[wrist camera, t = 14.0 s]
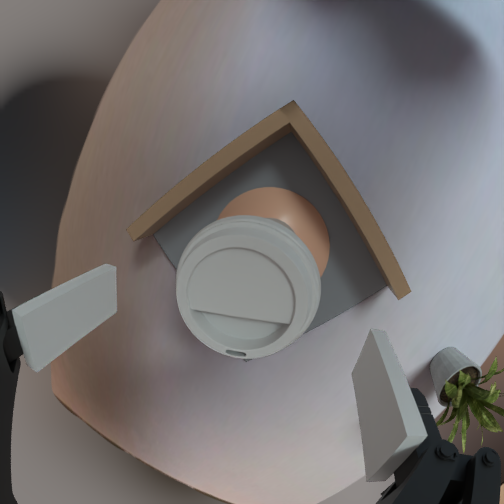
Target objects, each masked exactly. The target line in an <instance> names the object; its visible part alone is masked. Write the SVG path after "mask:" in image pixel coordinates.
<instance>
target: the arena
mask: <svg viewBox="0 0 504 504" xmlns="http://www.w3.org/2000/svg"><path fill="white" fill-rule="evenodd" d="M237 215H252V216H259V217H263V218H275V219H279V220H281V221H283V222H285V223H286V224H288V225H289V226H290V227H291V228H292V229H293V231H294V232H295V234H296V235H297V236H298V237H299V238H300V239H301V240H302V241H303V242H304V244H305V245H306V246H307V247H308V249H309V250H310V252H311V254H312V255H313V257H314V259H315V261H316V264H317V267H318V270H319V274H320V280H321V297H320V303H319V306H318V309H317V312H316V314H315V317H314V318H313V320H312V322H311V324H310V325H309V327H308V328H307V329H306V331H305V332H304V333H306V332H308V331H310V330H312V329H314V328H316V327H318V326H319V325H321V324H323V323H325V322H327V321H328V320H330V319H332V318H334V317H336V316H337V315H339V314H341V313H343V312H344V311H346V310H348V309H349V308H351V307H353V306H355V305H356V304H358V303H360V302H361V301H363V300H365V299H366V298H368V297H369V296H371V295H373V294H374V293H376V292H377V291H379V290H381V289H382V288H384V287H385V286H388V287H389V288H390V290H391V291H392V292H393V294H394V295H395V296H396V297H397V299H398V300H399V299H401V298H402V297H404V296H406V295H407V294H409V293H410V292H411V290H410V288H409V285H408V283H407V281H406V279H405V277H404V275H403V273H402V271H401V268H400V266H399V264H398V262H397V260H396V258H395V256H394V254H393V252H392V250H391V249H390V247H389V245H388V243H387V241H386V239H385V237H384V235H383V233H382V232H381V230H380V228H379V226H378V224H377V223H376V221H375V219H374V217H373V216H372V214H371V212H370V210H369V209H368V207H367V205H366V204H365V202H364V200H363V199H362V197H361V195H360V194H359V192H358V190H357V189H356V187H355V186H354V184H353V182H352V181H351V179H350V178H349V176H348V175H347V173H346V171H345V170H344V168H343V167H342V165H341V164H340V162H339V161H338V159H337V158H336V156H335V155H334V154H333V152H332V151H331V149H330V148H329V146H328V145H327V144H326V142H325V141H324V139H323V138H322V137H321V135H320V134H319V132H318V131H317V130H316V128H315V127H314V126H313V124H312V123H311V122H310V120H309V119H308V118H307V116H306V115H305V114H304V113H303V111H302V110H301V109H300V107H299V106H298V105H297V104H296V102H295V101H294V100H293V101H291V102H290V103H288V104H286V105H285V106H283V107H282V108H280V109H279V110H277V111H276V112H274V113H273V114H271V115H269V116H268V117H266V118H265V119H263V120H262V121H261V122H259V123H258V124H256V125H255V126H253V127H252V128H250V129H249V130H247V131H246V132H245V133H243V134H242V135H240V136H239V137H238V138H236V139H235V140H233V141H232V142H231V143H229V144H228V145H227V146H225V147H224V148H223V149H221V150H220V151H219V152H217V153H216V154H215V155H213V156H212V157H211V158H209V159H208V160H207V161H205V162H204V163H203V164H202V165H200V166H199V167H198V168H197V169H195V170H194V171H193V172H191V173H190V174H189V175H188V176H187V177H185V178H184V179H183V180H182V181H180V182H179V183H178V184H177V185H176V186H174V187H173V188H172V189H171V190H170V191H168V192H167V193H166V194H165V195H164V196H163V197H161V198H160V199H159V200H158V201H157V202H156V203H155V204H153V205H152V206H151V207H150V208H149V209H148V210H147V211H146V212H144V213H143V214H142V215H141V216H140V217H139V218H138V219H137V220H136V221H135V222H134V223H132V224H131V225H130V226H129V227H128V228H127V229H126V230H127V232H128V233H129V235H130V236H131V238H132V240H133V241H136V240H139V239H142V238H144V237H147V236H150V235H154V237H155V238H156V240H157V241H158V243H159V244H160V246H161V247H162V249H163V250H164V252H165V253H166V255H167V256H168V258H169V259H170V261H171V262H172V264H173V265H174V267H175V268H176V269H177V268H178V264H179V261H180V258H181V256H182V254H183V252H184V250H185V248H186V246H187V245H188V243H189V242H190V241H191V239H192V238H193V237H194V236H195V235H196V234H197V233H198V232H199V231H200V230H202V229H203V228H204V227H206V226H207V225H209V224H211V223H213V222H215V221H217V220H220V219H222V218H226V217H230V216H237ZM304 333H303V334H304ZM244 360H245V361H246V362H247V361H249V360H252V359H244Z"/></svg>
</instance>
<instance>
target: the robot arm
mask: <svg viewBox="0 0 504 504" xmlns="http://www.w3.org/2000/svg"><path fill="white" fill-rule="evenodd" d="M116 312H117V293H116V267H115V266H112V265H109V264H103V265H101V266H99V267H97V268H95V269H93V270H90V271H88V272H86V273H84V274H82V275H80V276H78V277H76V278H74V279H72V280H69V281H67V282H65V283H63V284H61V285H59V286H57V287H55V288H53V289H51V290H49V291H47V292H45V293H43V294H40V295H38V296H36V297H34V298H32V299H30V300H29V301H26V302H25V303H23V304H21V305H19V306H17V307H15V308H13V309H11V310H9V311H6V307H5V302H4V298H3V294H2V292H1V291H0V504H18V503H17V501H16V500H15V498H14V495H13V493H12V484H11V430H12V417H13V408H14V400H15V392H16V387H17V381H18V374H19V369H20V358H19V357H20V356H21V355H23V354H24V358H25V361H26V364H27V365H28V366H29V367H30V368H32V369H33V370H34V371H35V372H39V371H40V370H41V369H42V368H44V367H45V366H46V365H47V364H49V363H50V362H51V361H53V360H54V359H55V358H56V357H58V356H59V355H60V354H62V353H63V352H64V351H66V350H67V349H68V348H69V347H71V346H72V345H73V344H75V343H76V342H77V341H79V340H80V339H81V338H83V337H84V336H85V335H87V334H88V333H89V332H91V331H92V330H93V329H95V328H96V327H97V326H99V325H100V324H101V323H103V322H104V321H105V320H107V319H108V318H109V317H111V316H112V315H114V314H115V313H116ZM352 378H353V384H354V390H355V396H356V402H357V408H358V415H359V422H360V429H361V436H362V444H363V453H364V462H365V472H366V481H367V482H376V481H386V480H387V479H388V478H389V477H390V476H391V475H392V474H393V473H394V476H395V482H394V483H392V484H391V485H390V486H389V487H388V488H387V489H386V490H385V491H383V492H382V493H381V495H382V497H381V498H380V499H379V501H378V502H377V503H376V504H499V501H500V485H501V461H500V457H499V455H498V454H497V452H496V451H495V450H493V449H491V448H489V447H483V448H480V449H479V450H478V451H477V453H476V454H475V455H474V456H470V455H464V454H459V452H458V449H457V448H456V447H455V445H454V444H452V443H451V442H450V441H446V440H442V438H441V436H440V433H439V430H438V428H437V425H436V423H435V421H434V418H433V415H431V410H430V408H429V407H428V403H427V401H426V399H425V396H424V395H423V394H422V393H421V392H420V391H419V390H418V389H417V388H410V387H409V384H408V382H407V380H406V377H405V375H404V372H403V370H402V368H401V365H400V363H399V361H398V358H397V356H396V354H395V352H394V349H393V347H392V345H391V343H390V341H389V339H388V336H387V334H386V332H385V331H382V330H376V329H370V332H369V334H368V337H367V339H366V342H365V344H364V347H363V349H362V351H361V354H360V356H359V358H358V361H357V363H356V365H355V367H354V370H353V372H352Z"/></svg>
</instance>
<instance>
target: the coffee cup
mask: <svg viewBox="0 0 504 504" xmlns="http://www.w3.org/2000/svg"><path fill="white" fill-rule="evenodd" d="M176 297H177V303H178V308H179V311H180V314H181V316H182V318H183V320H184V322H185V324H186V325H187V327H188V328H189V330H190V331H191V332H192V333H193V334H194V336H195V337H196V338H197V339H199V340H200V341H201V342H202V343H203V344H205V345H206V346H207V347H209V348H211V349H212V350H214V351H216V352H218V353H221V354H223V355H226V356H230V357H234V358H241V359H254V358H261V357H265V356H269V355H271V354H274V353H276V352H278V351H280V350H282V349H283V348H285V347H287V346H289V345H290V344H292V343H293V342H294V341H296V340H297V339H298V338H299V337H300V336H301V335H302V334H303V333H304V332H305V331H306V329H307V328H308V327H309V325H310V324H311V322H312V320H313V318H314V317H315V314H316V312H317V309H318V306H319V303H320V297H321V280H320V274H319V270H318V267H317V264H316V261H315V259H314V257H313V255H312V254H311V252H310V250H309V249H308V247H307V246H306V245H305V244H304V242H303V241H302V240H301V239H300V238H299V237H298V236H297V235H296V234H295V232H294V231H293V229H292V228H291V227H290V226H289V225H288V224H286V223H285V222H283V221H281V220H279V219H275V218H263V217H259V216H252V215H237V216H230V217H226V218H222V219H220V220H217V221H215V222H213V223H211V224H209V225H207V226H206V227H204V228H203V229H202V230H200V231H199V232H198V233H197V234H196V235H195V236H194V237H193V238H192V239H191V241H190V242H189V243H188V245H187V246H186V248H185V250H184V252H183V254H182V256H181V258H180V261H179V264H178V268H177V273H176Z"/></svg>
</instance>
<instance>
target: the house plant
mask: <svg viewBox="0 0 504 504" xmlns="http://www.w3.org/2000/svg"><path fill="white" fill-rule="evenodd" d="M496 370H497V358H495V360H494V362H493V364H492V366H491V368H490V370H489V372H488V374H487V375H485V376H482V372H481V369H480V367H479V366H478V365H477V364H475V363H474V362H473V361H471V360H470V359H469V358H468V357H466V356H465V355H464V354H462V353H461V352H460V351H459V350H457V349H456V348H454V347H448V348H445V349H443V350H441V351H440V352H439V353H437V355H436V356H435V357H434V358H433V360H432V362H431V364H430V373H431V376H432V380H433V383H434V387H435V391H436V394H437V398H438V402H439V403H440V404H441V405H442V406H445V407H447V409H446V411H445V413H444V414H443V416H442V417H441V418H440V420H439V421H438V422H437V423H436V425H437V426H438V425H443V424H445V423H447V422H449V421H451V420H452V419H453V418H454V417H455V416H456V414H457V416H456V421H455V424H453V425H454V428H453V430H452V432H451V435H450V436H449V438H448V441H450V442H451V443H452V441H453V439H454V436H455V434H456V432H457V428H458V423H459V421H460V420H461V419H462V445H463V452H464V451H465V443H466V430H467V428H468V427H469V425H470V419H469V413H468V408H467V407H468V405H469V407H470V409H471V411H472V413H473V414H474V416H475V417H476V419H477V420H478V421H479V424H481V425H482V426H483V427H484V428H486V429H487V430H489V431H492V432H497V431H501V432H503V430H502V429H501V427H500V426H499V424H498V423H497V421H496V420H495V418H494V417H493V415H492V414H491V413H490V412H489V411H488V410H487V409H486V408H485V407H487V408H489V409H491V410H493V411H495V412H497V413H498V414H500V415H502V416H504V409H502V408H500V407H497V406H494V405H493V404H491V403H493V402H495V401H496V400H497V398H498V396H499V394H500V391H501V390H496V383H494V385H493V388H492V385H491V389H490V391H487V390H484V389H482V388H479V387H478V385H479V384H482V383H485V382H487V381H488V380H489V379H490V378H491V377H492V376H493V375H496V374H499V373H501V372H503V371H504V369H502V370H501V371H498V372H495V371H496ZM484 377H486V378H485V380H484V381H483V382H481V383H480V380H481V378H484ZM467 403H468V404H467ZM450 406H453V410H452V413H451V416H450V418H449V419H448V420H447V421H445V422H444V423H442V422H443V420H444V419H445V417H446V415H447V413H448V409H449V407H450ZM484 406H485V407H484ZM485 415H486V416H485ZM487 418H488V419H489V420H488V419H487ZM441 423H442V424H441ZM482 426H481V427H482ZM482 439H483V438H482Z"/></svg>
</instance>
